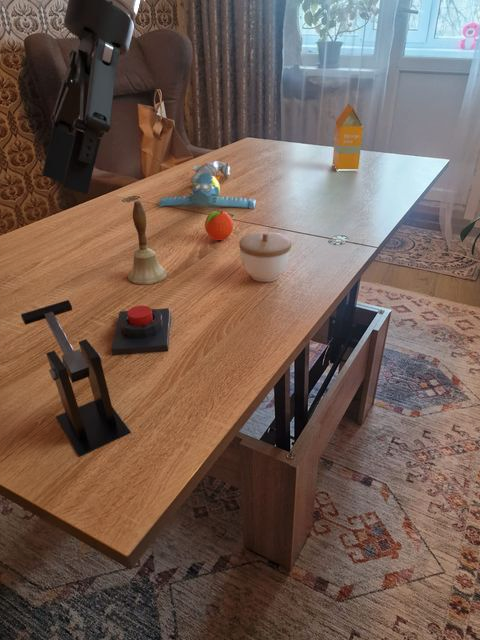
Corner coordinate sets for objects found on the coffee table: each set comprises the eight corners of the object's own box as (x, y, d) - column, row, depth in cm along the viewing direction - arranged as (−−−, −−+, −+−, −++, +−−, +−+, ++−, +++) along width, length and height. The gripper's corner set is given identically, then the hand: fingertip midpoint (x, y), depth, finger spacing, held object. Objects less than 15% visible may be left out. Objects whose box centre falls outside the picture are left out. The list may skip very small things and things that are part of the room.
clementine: (218, 248, 115) (216, 219, 111) (197, 241, 118) (194, 213, 114) (239, 237, 120) (238, 209, 116) (218, 231, 123) (217, 204, 119)
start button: (127, 327, 80) (125, 318, 79) (130, 314, 83) (128, 306, 82) (152, 325, 80) (150, 316, 79) (153, 313, 83) (152, 304, 82)
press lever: (22, 320, 62) (19, 309, 60) (68, 306, 65) (67, 295, 63) (56, 389, 58) (55, 379, 56) (104, 370, 61) (104, 360, 59)
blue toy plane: (256, 167, 140) (252, 184, 128) (257, 197, 145) (252, 216, 133) (162, 166, 142) (148, 182, 130) (166, 195, 147) (153, 213, 135)
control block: (113, 360, 78) (108, 340, 76) (121, 321, 88) (117, 302, 86) (169, 356, 79) (166, 336, 77) (171, 318, 89) (168, 299, 87)
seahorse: (220, 187, 150) (236, 161, 164) (185, 173, 149) (204, 148, 163) (216, 201, 153) (232, 175, 168) (182, 187, 153) (201, 162, 167)
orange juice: (353, 164, 175) (359, 103, 164) (358, 171, 168) (365, 108, 157) (331, 165, 175) (336, 104, 163) (336, 172, 168) (341, 108, 156)
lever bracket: (57, 422, 67) (31, 347, 59) (106, 402, 70) (87, 328, 63) (81, 462, 61) (55, 384, 53) (132, 438, 64) (115, 361, 57)
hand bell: (141, 265, 107) (129, 193, 98) (174, 270, 105) (165, 197, 96) (120, 281, 101) (105, 206, 92) (155, 287, 99) (143, 211, 89)
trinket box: (275, 291, 97) (276, 248, 92) (230, 280, 101) (228, 237, 96) (298, 271, 105) (300, 229, 99) (255, 260, 109) (255, 220, 103)
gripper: (172, 5, 50) (119, 207, 55) (105, 36, 69) (71, 183, 74) (101, -39, 45) (50, 185, 50) (50, 6, 64) (17, 165, 69)
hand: (62, 184), depth 62 cm, fingers open, 13 cm apart
